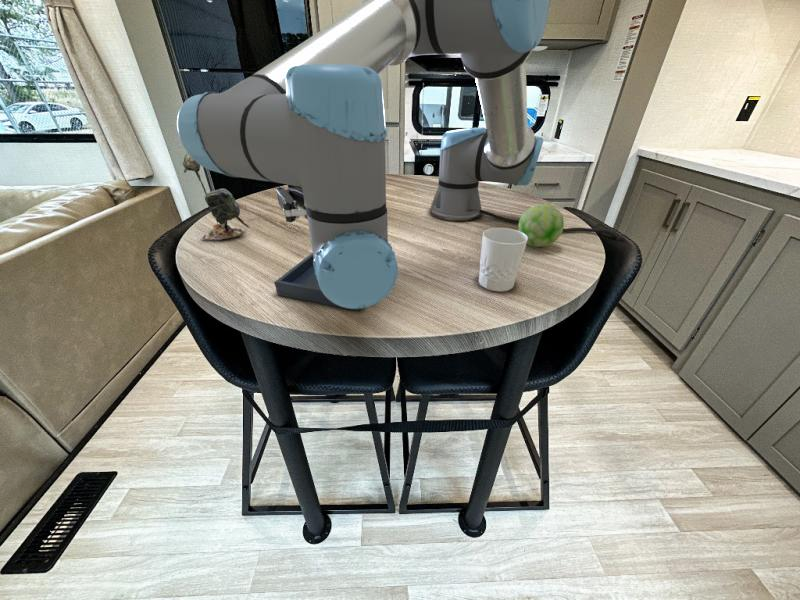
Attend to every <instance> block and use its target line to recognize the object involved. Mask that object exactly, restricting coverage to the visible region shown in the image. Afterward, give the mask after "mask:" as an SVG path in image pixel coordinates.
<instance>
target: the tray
mask: <svg viewBox="0 0 800 600" xmlns="http://www.w3.org/2000/svg"><path fill="white" fill-rule="evenodd" d="M313 261H314V257H313V252H311V253H310V254H309V255H308V256H306V257H305V258H304V259H302V260H301V261H299V262H298V263H297V264H296V265H294V266H293V267H292V268H290V269H289V270H288V271H286V272H285V273H284V274H282V275H281V276H280V277H278V279H277V280H275V281H274V286H275V291H276V294H277V296H280V297H285V298H292V299H295V300H301V301H306V302H312V303H317V304H321V305H327V306H331V307H336V308H342V309H347V310H350V309H349V308H345V307H341V306H338V305H336V304H334V303H333V302H331V301H330V300H329V299H328V298H327V297H326V296H325V295H324V294H323V292H322V291H321V289H320V287H319V284H318V280H317V279H316V277H315V272H314V265H313ZM361 309H362V308H358V309H351V310H352V311H358V312H360V311H361Z"/></svg>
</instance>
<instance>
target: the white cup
mask: <svg viewBox="0 0 800 600" xmlns="http://www.w3.org/2000/svg"><path fill="white" fill-rule="evenodd" d="M527 240H528V237H527V235H526V234H524V233H523V232H521V231H519V229H516V228H515V229H514V228H509V227H491V228H488V229H487V228H486V229H485V230H484V231H483V232H482V237H481V246H480V255H479V273H478V283H479V285H480V286H481V287H483V288H484V289H486V290H489V291H493V292H500V293H501V292H507V291H510V290H511V289H513V288H514V286H515V282H516V279H517V275H518V274H519V270H520V267H521V264H522V261H523V257H524V254H525V250H526V247H527V245H528V244H527Z"/></svg>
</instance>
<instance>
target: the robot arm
mask: <svg viewBox="0 0 800 600" xmlns="http://www.w3.org/2000/svg"><path fill="white" fill-rule="evenodd" d="M549 10H550V0H360V3H359V5H358V6H357V7H355V8H354V9H352V10H351V11H349V12H348V13H346V14H344V15H342V16H341V17H339V18H338V19H336V20H335V21H333V22H332V23H330V24H329V25H328V26H326V27H323V28H322V29H321V30H320V31H318V32H316V33H315V34H313V35H312V36H310V37H309V38H307V39H306V40H304V41H302V42H301V43H299V44H298V45H297V46H295V47H293V48H292V49H290V50H289V51H287V52H286V53H284V54H282V55H281V56H279V57H278V58H277V59H274V61H272V62H270V63H268V64H267V65H265V66H264V67H262V68H261V69H260V70H258V71H256V72H255V73H253V74H252V75H250V76H248V77H246V78H245V79H242V80H241V81H239V82H238V83H237V84H234V85H233V86H231V87H230V88H229V89H227V90H225V91H222V92H217V91H206V92H204V93H201V94H195V95H193V96H190V97H189V98H187V99H186V100H185V101H184V102H183V103H182V104H181V107H180V109H179V110H178V113H177V120H176V128H177V134H178V138H179V140H180V143H181V145H182V147H183V148H184V149H185V151H186V154H189V155H190V156H191V158H192V159H193V160H195V161H196V162H197V163H198V164H199V165H200V167H203V168H204V169H207V170H208V171H212V172H215V173H219V174H222V175H225V176H228V177H231V178H242V179H248V180H256V181H262V182H269V183H276V184H282V185H283V184H284V185H287V189H285V187H282V186H278V187H276V188H275V192H276V197H277V202H278V206H280V209H282V210H283V212H284V217H285V222H286V223H294V222H295V221H296V219H300V217H304V218H305V219H306V220H307V225H308V232H309V237H310V244H311V250H312V253H313V257H314V261H313V265H314V272H315V277H316V279H317V280H318V284H319V287H320V289H321V291H322V292H323V294H324V295H325V296H326V297H327V298H328V299H329V300H330V301H331V302H333V303H334V304H336V305H338V306H341V307H345V308H344V309H346V308H349V309H348V310H352V309H358V308H361V309H365V308H368V307H373V306H374V305H377V304H379V303H380V302H382V301H383V300H385V298H387V296H389V294H390V293H391V292H392V290H393V289H394V287H395V285H396V282H397V279H398V274H399V265H398V261H397V258H396V253H395V251H394V250H393V246H392V245H391V244H390V243H389V238H388V237H389V234H388V233H389V229H388V227H389V226H388V207H387V170H386V169H387V167H386V165H387V163H386V162H387V161H386V160H387V158H386V151H387V150H386V146H387V145H386V139H387V137H388V128H387V126H386V116H385V105H384V90H383V89H384V87H383V82H382V79H381V77H380V75H379V74H380V73H382V72H383V71H384V70H385V69H386V68H387V67H389V66H391V67H393V66H399V65H401V64H404V62H406V61H407V60H408V59H410V58H411V57H417V56H431V55H433V56H434V55H439V56H440V55H460V59H461V62H462V66H463V68H464V70H465V72H466V73H467V74H468V75H469V76H471V77H472V78H474V79H475V83H476V86H477V91H478V96H479V102H480V105H481V110H482V111H481V112H482V115H483V120H484V125H485V127H484V126H483V127H469V128H460V129H453V130H448V131H446V132H445V133H443V134H442V137H441V144H440V149H439V152H440V153H439V170H438V183H437V184H438V185H437V189H436V192H435V194H434V196H433V199H432V202H431V205H430V214H431V216H433V217H435V218H437V219H440V220H444V221H450V222H451V221H452V222H467V221H468V222H469V221H473V220H476V219H479V218H480V217H481V215H482V214H483V215H486V216H488V217H491V218H494V219H497V220H500V221H504V222H507V223H511V224H519V221H520V219H514V218H509V217H504V216H501V215H498V214H495V213H492V212H490V211H487V210H484V209H482V204H481V198H480V193H479V185H480V184H479V183H480V181H481V182H488V183H489V182H491V183H498V184H508V185H513V186H516V187H517V186H529V185H530V184H531V182H532V180H533V177H534V173H535V170H536V168H537V164H538V161H539V157H540V154H541V151H542V147H543V143H544V138H543V137H540V136H538V135H535V133H534V130H533V129H532V127H531V126H530V125H528V95H527V59H528V58H529V57H530V56H531V53H532V51H533V50H534V49H536V48H537V46H538V45H539V44H540V42H541V40H542V38H543V36H544V33H545V29H546V25H547V21H548V16H549ZM301 187H302V189H301ZM571 232H586V233H603V234H606V235H610V236H612V237H613V239H614V240H616V241H621V238H620V236H619V235H618V234H617V233H616V232H614V230H613V231H612V230H610V229H606V228H591V227H590V228H589V227H569V228H563V232H562V233H571ZM341 307H340V308H341Z"/></svg>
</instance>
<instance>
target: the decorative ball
mask: <svg viewBox="0 0 800 600" xmlns="http://www.w3.org/2000/svg"><path fill="white" fill-rule="evenodd" d="M519 220H520V221H519V224H518V225H517V226H518V231H521V232H523V233H524V234H526V235H527V237H528V240H527V244H526V245H529V246H530V247H531V246H532V247H534V248H544V247H548V246H551V245H552V244H553V243H554V242H556V241H557V240H558V239H559V238H560V236H561V235H562V233H564V232H563V229H564V225H565V224H564V223H565V221H564V216H563V214H562V212H561V211H560V210H559V209H558V208H556V207H555V206H554V205H551V204H548V203H539V204H535V205H533V206H530V207H529V208H528V209H526V210H525V212H524V213H523V214H521V216H520V218H519Z"/></svg>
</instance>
